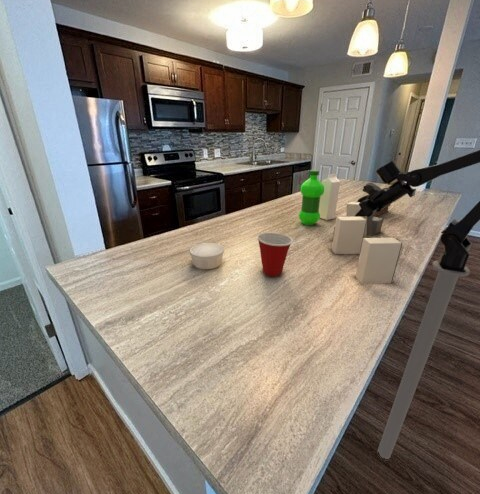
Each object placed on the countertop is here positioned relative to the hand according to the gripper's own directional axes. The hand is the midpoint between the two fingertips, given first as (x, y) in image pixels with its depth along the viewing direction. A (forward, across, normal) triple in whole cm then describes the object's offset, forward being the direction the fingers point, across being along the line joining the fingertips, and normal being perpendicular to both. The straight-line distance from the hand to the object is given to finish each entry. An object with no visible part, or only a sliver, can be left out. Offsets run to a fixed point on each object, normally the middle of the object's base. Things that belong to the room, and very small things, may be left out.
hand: (358, 215), depth 109 cm
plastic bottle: (+22, +2, -9) cm, 24 cm away
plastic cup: (+8, +50, +4) cm, 51 cm away
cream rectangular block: (+4, 0, +6) cm, 8 cm away
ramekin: (+21, +62, -9) cm, 67 cm away
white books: (-3, +25, +16) cm, 30 cm away
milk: (+21, -13, -9) cm, 26 cm away
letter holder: (+13, -39, 0) cm, 41 cm away
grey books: (+5, 0, +7) cm, 9 cm away
